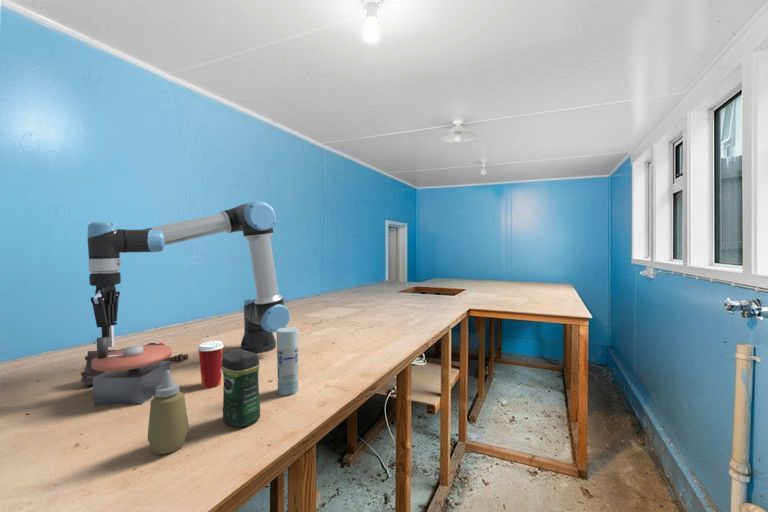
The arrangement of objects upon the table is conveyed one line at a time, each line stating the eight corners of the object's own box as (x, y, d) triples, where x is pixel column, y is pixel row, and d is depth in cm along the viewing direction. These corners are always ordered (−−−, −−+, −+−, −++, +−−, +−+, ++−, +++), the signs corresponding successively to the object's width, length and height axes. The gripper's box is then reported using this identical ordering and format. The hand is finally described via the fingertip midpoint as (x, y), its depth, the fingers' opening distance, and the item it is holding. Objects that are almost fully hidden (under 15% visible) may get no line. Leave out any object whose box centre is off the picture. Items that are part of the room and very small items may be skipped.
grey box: (170, 384, 113) (170, 360, 113) (142, 404, 99) (141, 377, 99) (128, 385, 113) (127, 361, 112) (93, 404, 99) (92, 378, 98)
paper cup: (229, 382, 115) (228, 341, 114) (211, 391, 107) (210, 348, 107) (211, 379, 117) (210, 339, 117) (192, 388, 110) (191, 345, 110)
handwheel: (178, 354, 118) (178, 325, 118) (160, 375, 99) (159, 341, 99) (110, 361, 112) (109, 330, 111) (77, 384, 93) (75, 348, 92)
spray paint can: (276, 389, 109) (275, 328, 108) (296, 385, 111) (296, 326, 111) (278, 397, 103) (277, 333, 102) (300, 393, 105) (299, 330, 105)
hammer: (78, 381, 113) (85, 350, 114) (180, 370, 139) (185, 345, 140) (84, 385, 109) (91, 354, 110) (188, 374, 135) (193, 348, 136)
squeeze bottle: (160, 438, 81) (158, 365, 81) (195, 436, 82) (193, 364, 81) (139, 459, 73) (137, 378, 73) (178, 457, 74) (176, 377, 73)
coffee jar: (265, 419, 90) (264, 350, 90) (237, 432, 84) (236, 359, 83) (245, 408, 96) (244, 344, 95) (218, 420, 90) (216, 351, 89)
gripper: (109, 273, 100) (112, 351, 101) (128, 270, 112) (130, 339, 113) (78, 274, 97) (82, 354, 98) (101, 270, 110) (104, 342, 111)
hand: (108, 346), depth 106 cm, fingers closed
